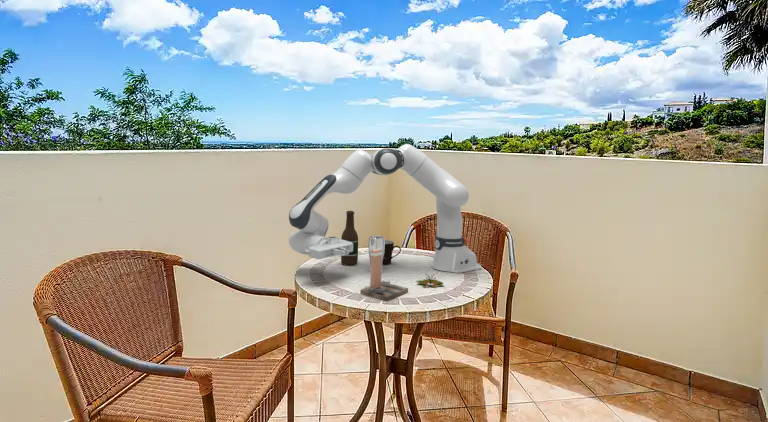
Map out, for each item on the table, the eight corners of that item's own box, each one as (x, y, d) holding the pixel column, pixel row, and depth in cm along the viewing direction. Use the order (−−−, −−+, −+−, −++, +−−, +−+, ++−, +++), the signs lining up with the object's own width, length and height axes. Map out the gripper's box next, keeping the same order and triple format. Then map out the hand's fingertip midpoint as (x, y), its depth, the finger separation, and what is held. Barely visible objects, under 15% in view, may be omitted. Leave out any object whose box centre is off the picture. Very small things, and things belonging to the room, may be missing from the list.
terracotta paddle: (370, 288, 165) (371, 250, 163) (376, 285, 168) (378, 248, 166) (374, 289, 164) (375, 251, 162) (381, 286, 167) (382, 249, 165)
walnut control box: (360, 293, 164) (360, 286, 164) (382, 285, 175) (382, 278, 174) (387, 301, 157) (387, 294, 157) (408, 292, 167) (408, 285, 167)
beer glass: (382, 274, 190) (383, 239, 188) (366, 272, 191) (367, 237, 189) (385, 269, 197) (386, 235, 194) (369, 268, 198) (370, 234, 196)
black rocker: (374, 292, 161) (374, 290, 161) (378, 290, 162) (378, 288, 162) (382, 293, 158) (382, 290, 158) (386, 291, 160) (386, 288, 160)
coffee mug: (370, 262, 208) (371, 241, 206) (383, 259, 214) (384, 238, 212) (388, 268, 200) (389, 245, 198) (401, 264, 206) (402, 243, 204)
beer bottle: (355, 266, 201) (356, 212, 197) (338, 265, 202) (339, 212, 198) (359, 262, 208) (360, 210, 205) (343, 260, 209) (343, 209, 206)
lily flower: (450, 289, 174) (450, 277, 174) (421, 290, 171) (421, 279, 171) (438, 280, 186) (439, 269, 185) (410, 281, 183) (411, 270, 182)
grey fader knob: (381, 284, 170) (381, 280, 169) (384, 283, 171) (384, 279, 171) (387, 286, 168) (387, 282, 168) (389, 285, 170) (390, 280, 169)
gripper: (301, 243, 173) (327, 249, 164) (338, 236, 189) (363, 241, 181) (301, 259, 174) (327, 266, 165) (337, 250, 190) (362, 256, 182)
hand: (346, 253), depth 173 cm, fingers closed
